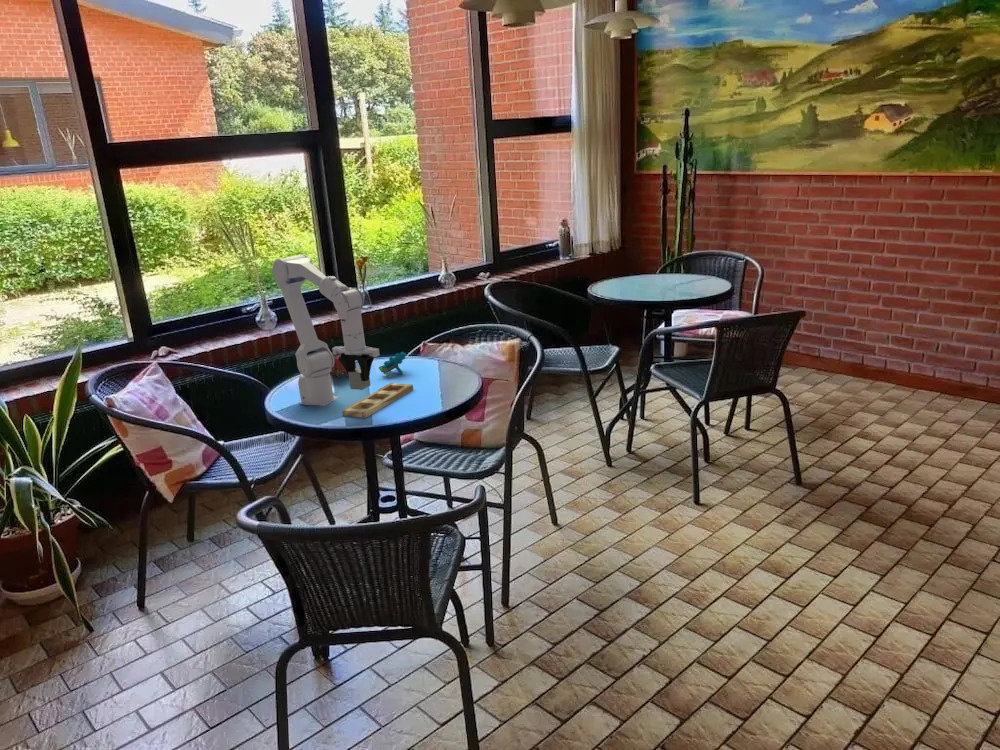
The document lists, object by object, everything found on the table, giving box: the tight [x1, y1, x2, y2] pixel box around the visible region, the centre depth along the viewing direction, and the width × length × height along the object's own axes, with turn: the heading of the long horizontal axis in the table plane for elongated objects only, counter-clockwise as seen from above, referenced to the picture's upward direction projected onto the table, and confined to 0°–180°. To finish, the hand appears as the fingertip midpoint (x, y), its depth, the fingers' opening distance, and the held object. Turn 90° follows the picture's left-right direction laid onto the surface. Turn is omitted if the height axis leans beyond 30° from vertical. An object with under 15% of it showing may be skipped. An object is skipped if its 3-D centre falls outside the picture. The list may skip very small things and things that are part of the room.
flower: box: [330, 354, 357, 383], centre depth 246 cm, size 11×10×10 cm
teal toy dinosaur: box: [378, 351, 407, 378], centre depth 246 cm, size 11×6×10 cm
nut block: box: [348, 367, 371, 391], centre depth 209 cm, size 4×4×5 cm
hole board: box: [341, 382, 414, 418], centre depth 219 cm, size 8×25×2 cm, turn 155°
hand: (359, 379), depth 209 cm, fingers closed on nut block, 4 cm apart
